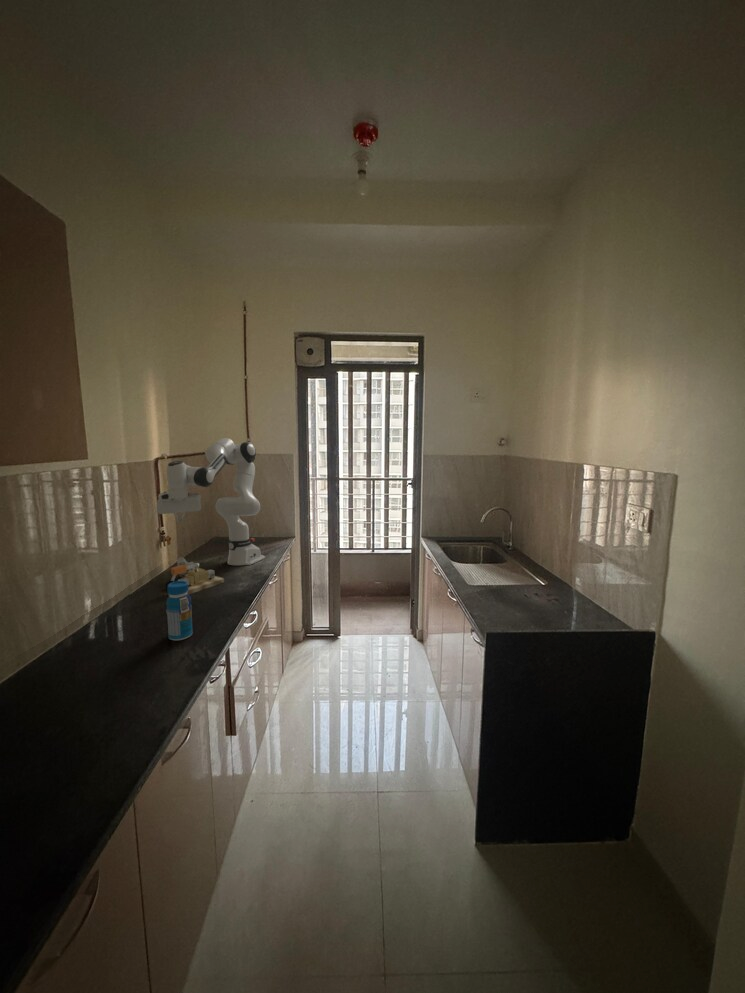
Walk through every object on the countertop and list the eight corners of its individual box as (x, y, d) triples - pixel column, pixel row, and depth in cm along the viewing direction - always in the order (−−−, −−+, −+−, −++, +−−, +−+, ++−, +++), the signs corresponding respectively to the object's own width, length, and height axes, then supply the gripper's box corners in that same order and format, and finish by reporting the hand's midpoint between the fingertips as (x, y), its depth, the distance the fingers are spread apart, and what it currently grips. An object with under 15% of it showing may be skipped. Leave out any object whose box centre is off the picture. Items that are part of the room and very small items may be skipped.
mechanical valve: (202, 570, 210) (189, 554, 199) (191, 601, 198) (176, 586, 187) (184, 570, 211) (170, 555, 200) (172, 601, 199) (156, 586, 188)
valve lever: (197, 566, 194) (196, 560, 194) (200, 567, 193) (200, 561, 193) (171, 574, 183) (170, 568, 183) (174, 575, 182) (174, 569, 181)
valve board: (209, 577, 206) (208, 574, 206) (224, 582, 200) (223, 578, 200) (168, 591, 188) (168, 587, 187) (184, 596, 181) (183, 592, 181)
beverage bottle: (165, 642, 140) (161, 589, 137) (170, 631, 148) (167, 580, 145) (191, 639, 142) (188, 586, 139) (195, 629, 150) (192, 578, 147)
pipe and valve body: (209, 576, 203) (208, 561, 201) (216, 578, 200) (215, 562, 199) (176, 587, 187) (175, 570, 186) (183, 589, 185) (182, 572, 183)
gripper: (200, 491, 204) (201, 517, 206) (155, 494, 194) (157, 521, 196) (201, 493, 198) (203, 520, 201) (155, 496, 189) (157, 524, 191)
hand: (180, 521), depth 198 cm, fingers closed
